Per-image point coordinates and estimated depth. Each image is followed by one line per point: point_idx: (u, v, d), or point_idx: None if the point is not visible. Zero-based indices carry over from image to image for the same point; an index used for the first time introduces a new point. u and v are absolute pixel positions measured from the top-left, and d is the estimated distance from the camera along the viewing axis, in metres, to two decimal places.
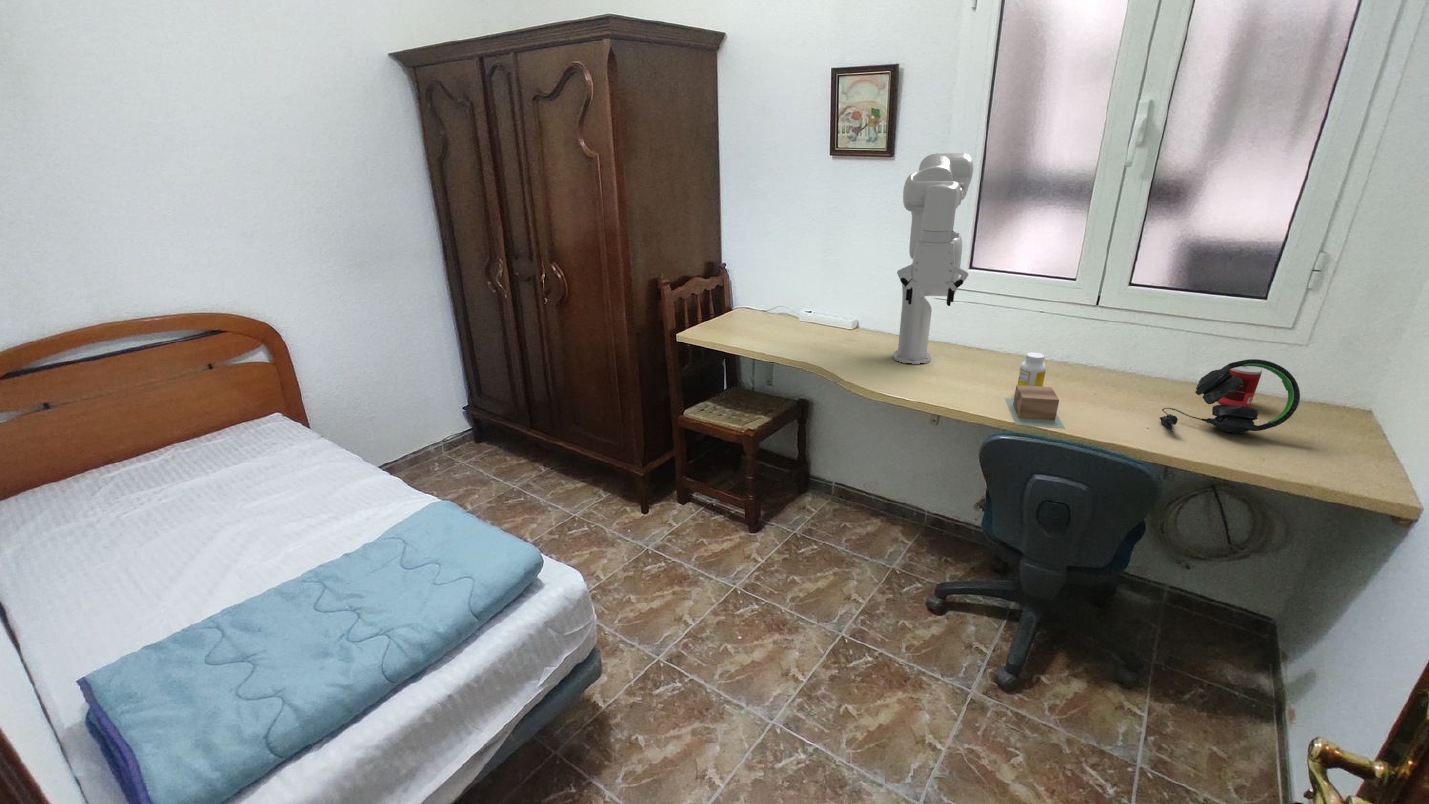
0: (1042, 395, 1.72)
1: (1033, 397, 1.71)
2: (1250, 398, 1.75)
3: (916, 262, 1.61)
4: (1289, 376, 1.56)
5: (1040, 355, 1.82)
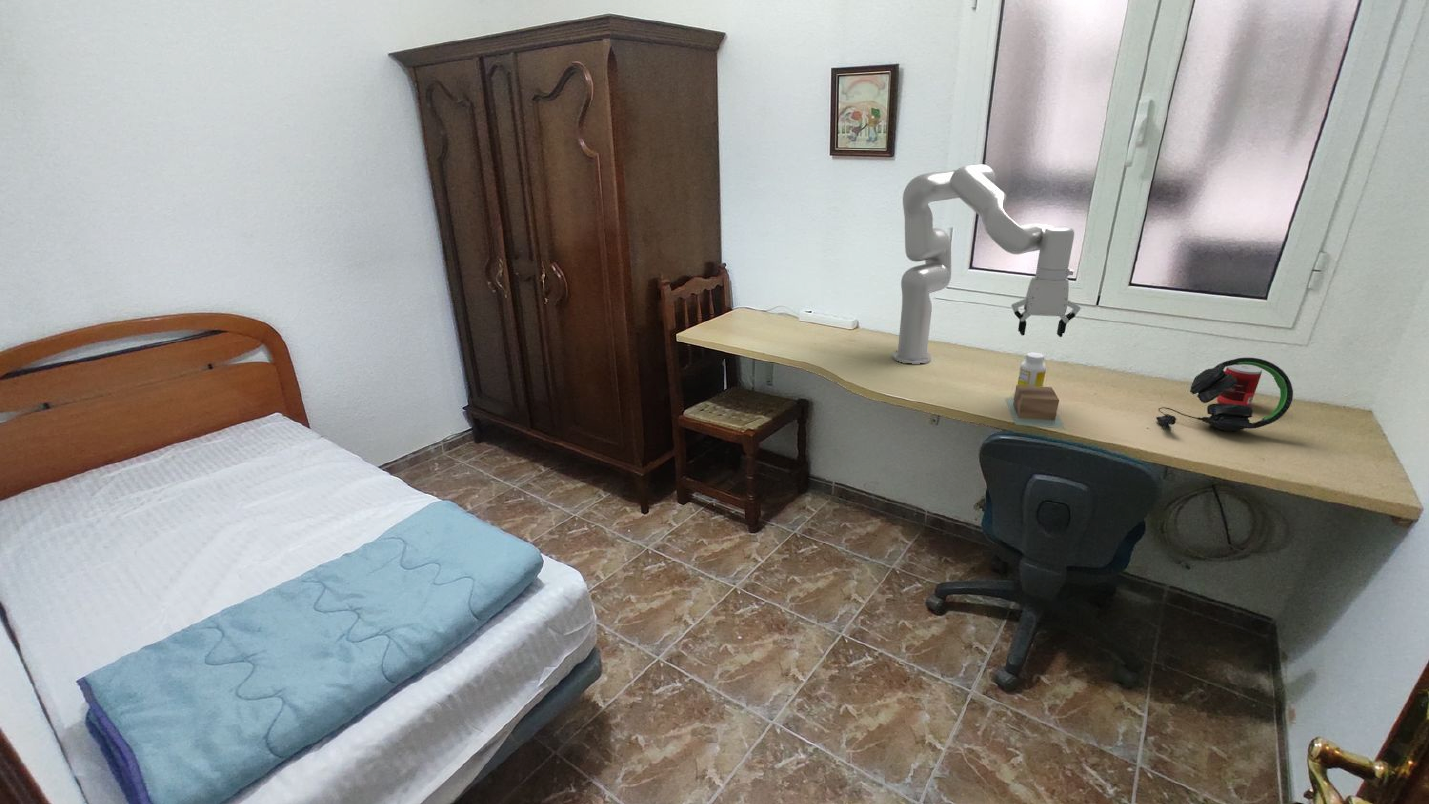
0: (1042, 395, 1.72)
1: (1033, 397, 1.71)
2: (1250, 398, 1.75)
3: (1031, 297, 1.75)
4: (1282, 373, 1.58)
5: (1040, 355, 1.82)
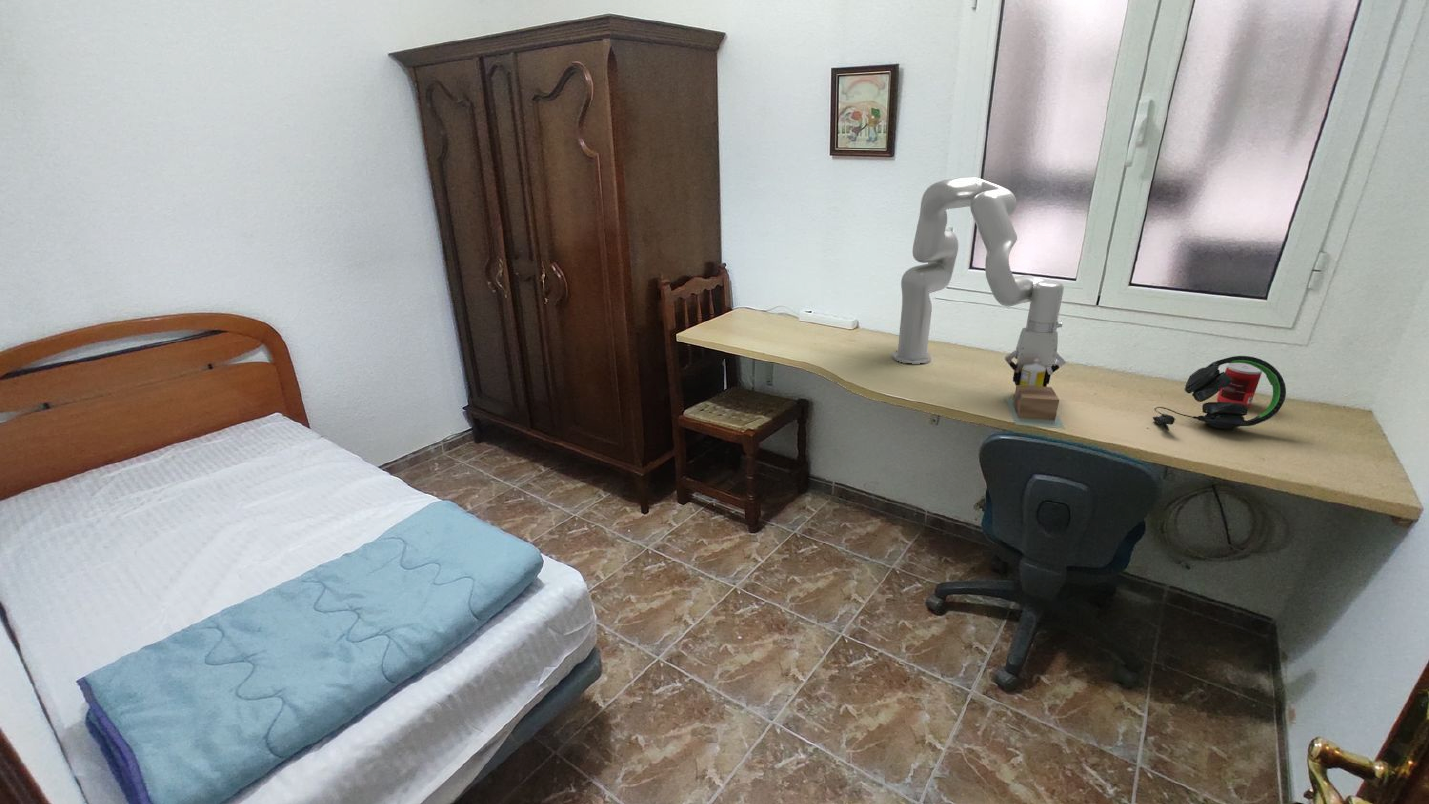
0: (1042, 395, 1.72)
1: (1033, 397, 1.71)
2: (1250, 398, 1.75)
3: (1022, 347, 1.81)
4: (1274, 371, 1.60)
5: None
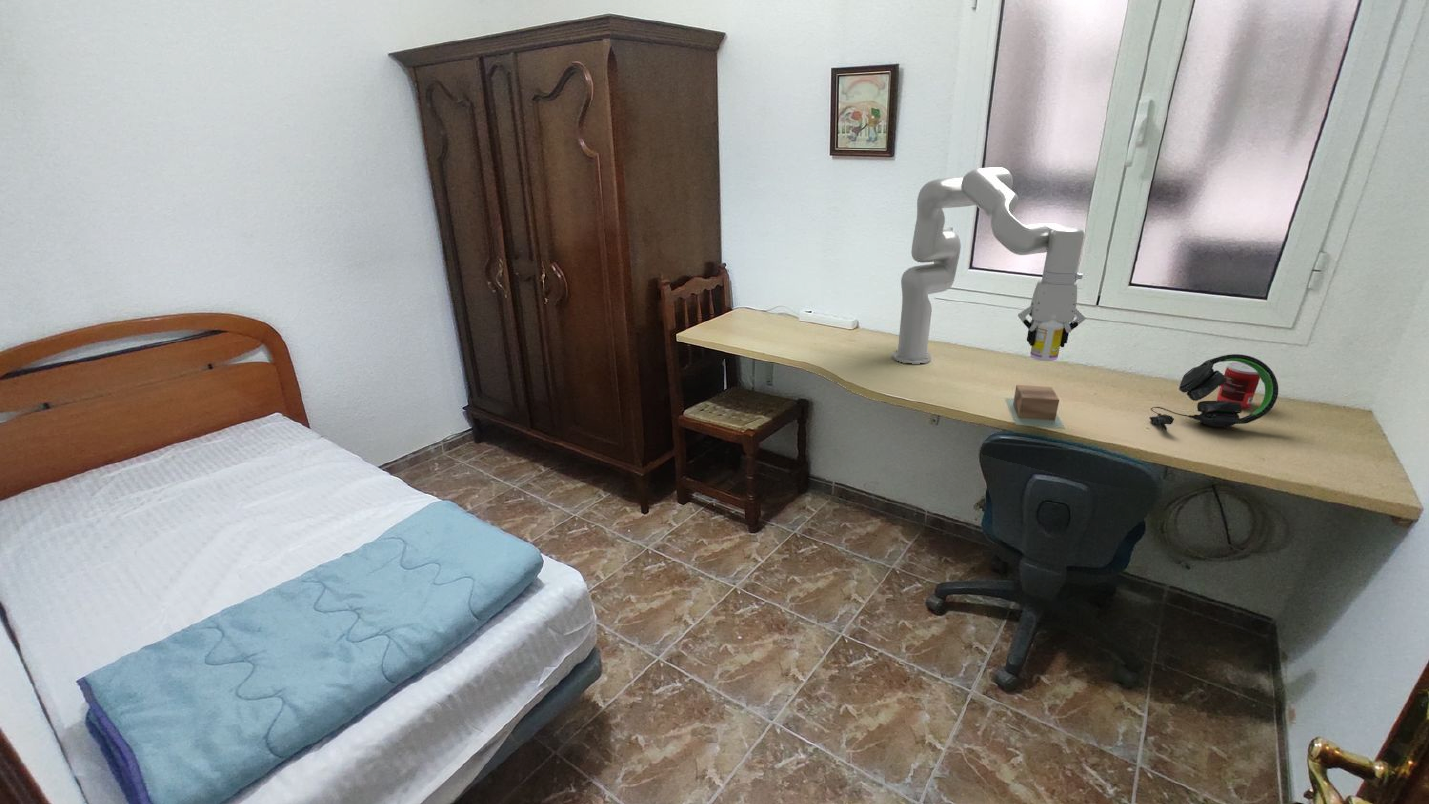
0: (1042, 395, 1.72)
1: (1033, 397, 1.71)
2: (1250, 398, 1.75)
3: (1037, 302, 1.64)
4: (1267, 369, 1.61)
5: None
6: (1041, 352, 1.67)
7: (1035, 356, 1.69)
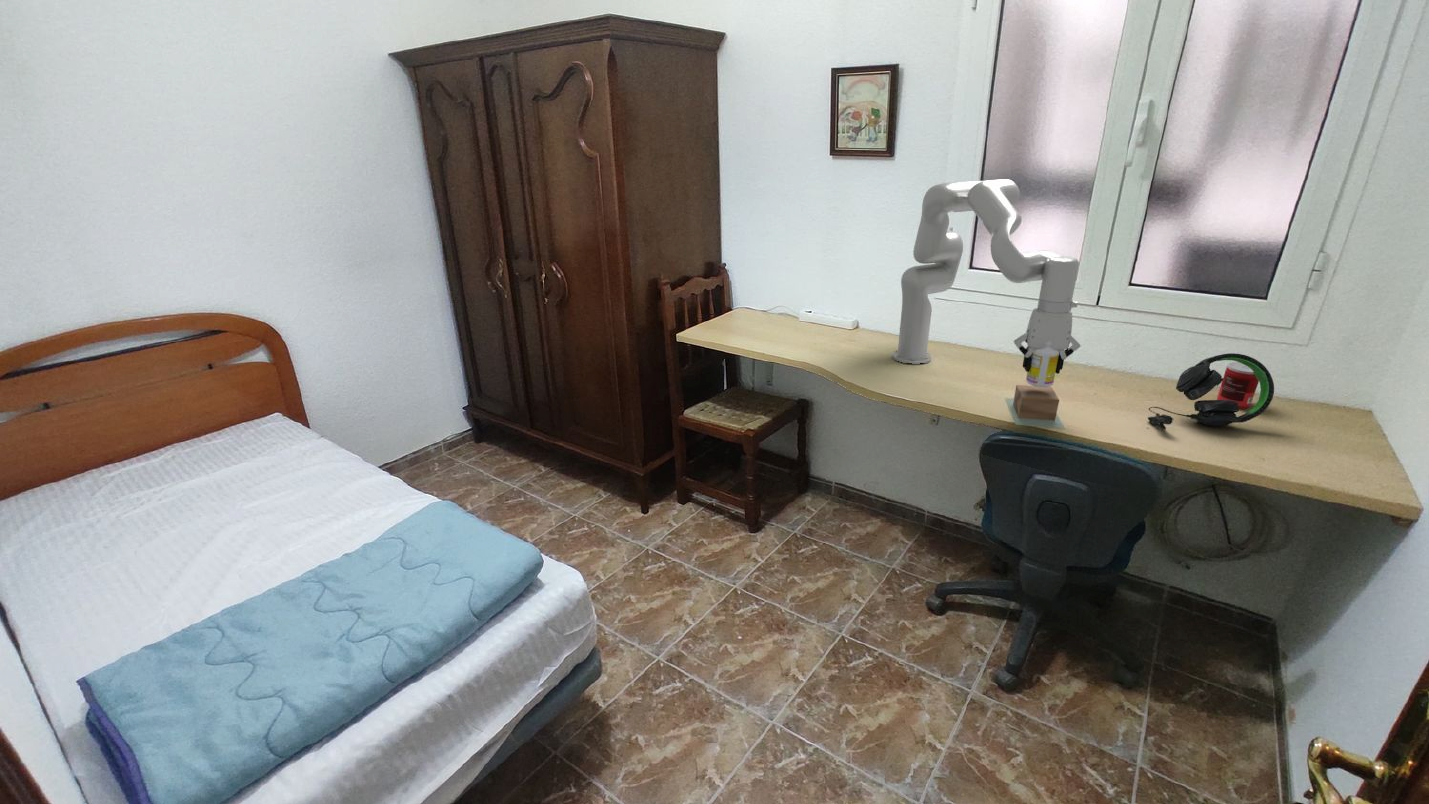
0: (1042, 395, 1.72)
1: (1033, 397, 1.71)
2: (1250, 398, 1.75)
3: (1033, 329, 1.66)
4: (1262, 367, 1.62)
5: None
6: (1037, 378, 1.69)
7: (1031, 382, 1.71)
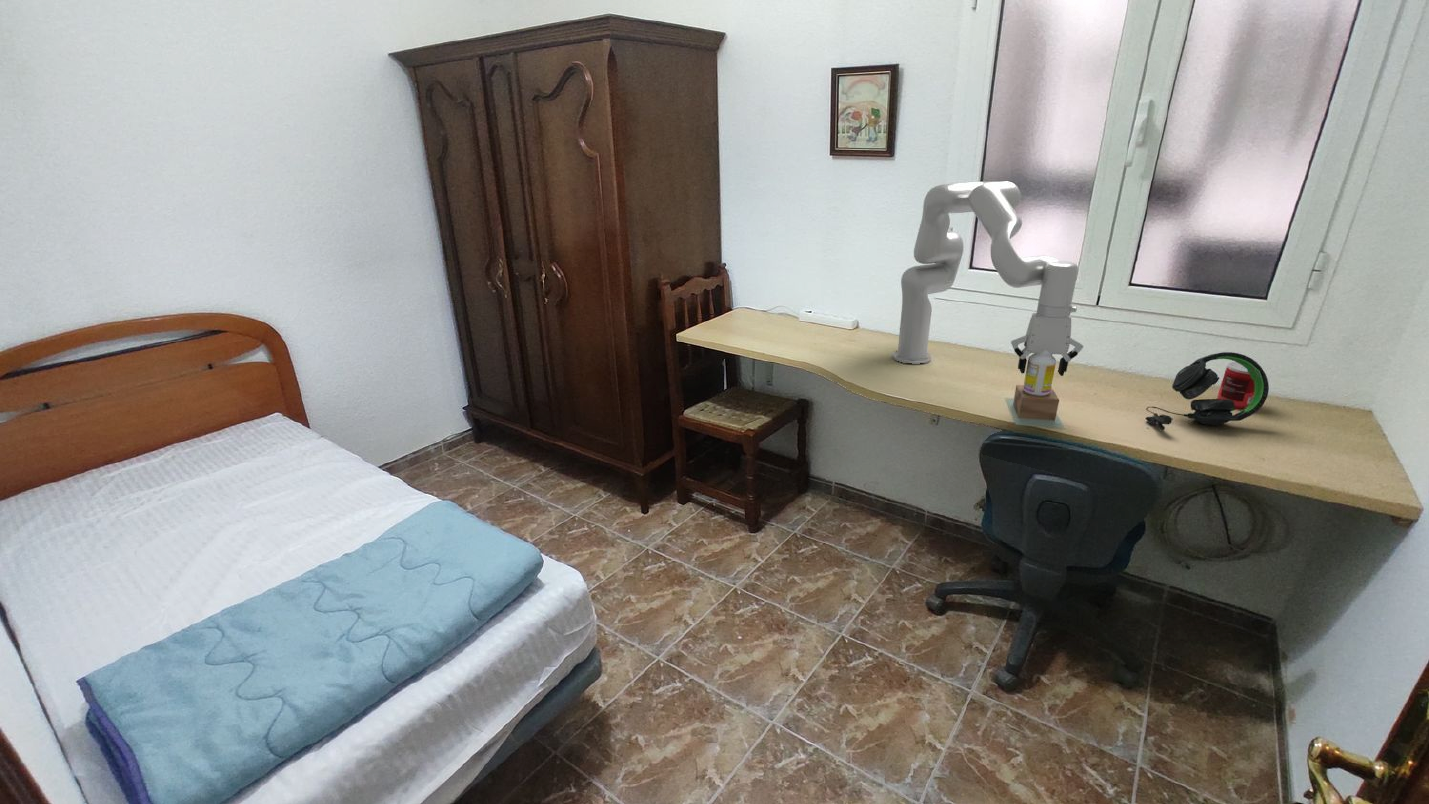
0: None
1: (1033, 397, 1.71)
2: (1250, 398, 1.75)
3: (1032, 334, 1.66)
4: (1257, 366, 1.63)
5: None
6: (1033, 387, 1.71)
7: (1028, 391, 1.72)
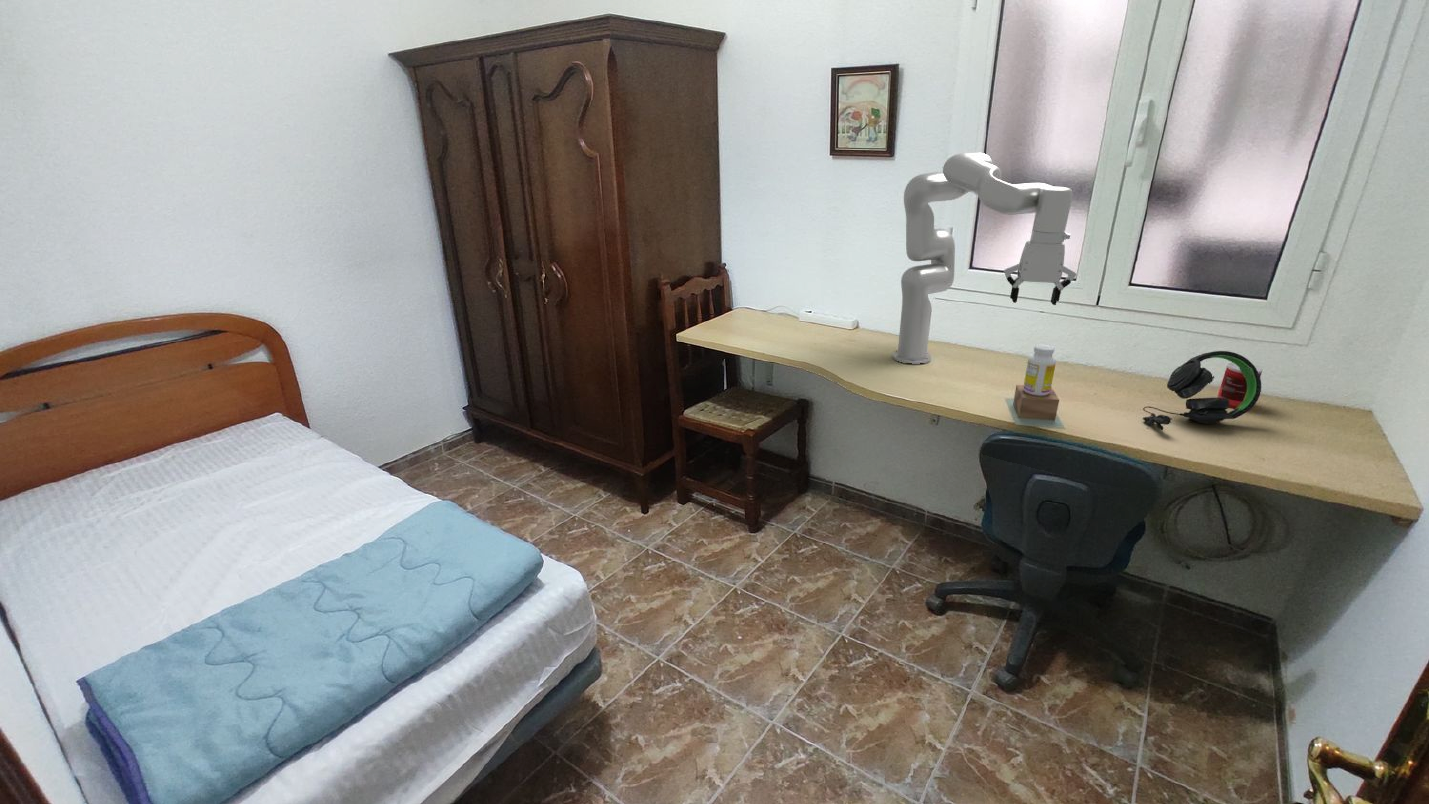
0: None
1: (1033, 397, 1.71)
2: None
3: (1025, 261, 1.66)
4: (1249, 364, 1.64)
5: (1049, 347, 1.68)
6: (1033, 387, 1.71)
7: (1028, 391, 1.72)
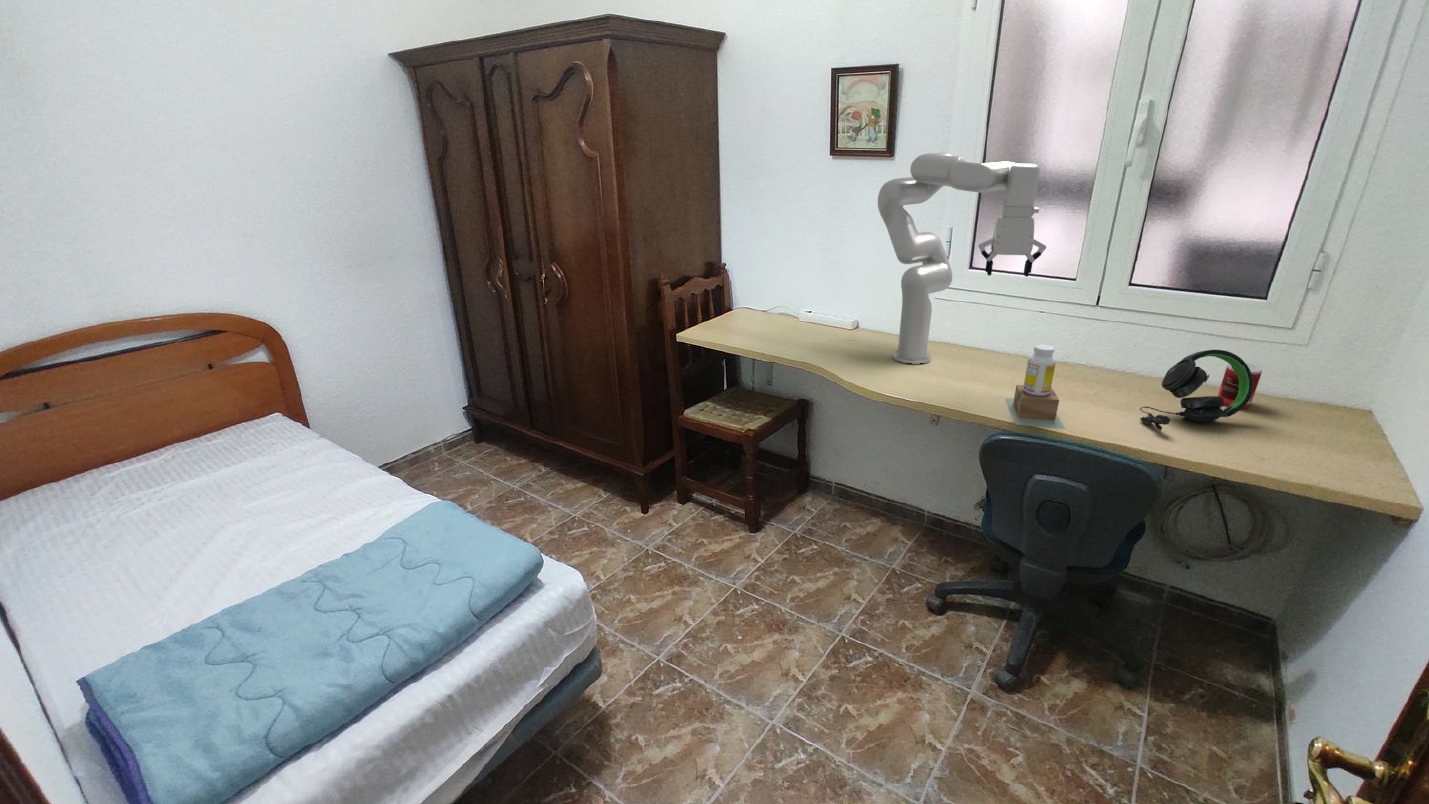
0: None
1: (1033, 397, 1.71)
2: (1250, 398, 1.75)
3: (997, 235, 1.75)
4: (1242, 362, 1.66)
5: (1049, 347, 1.68)
6: (1033, 387, 1.71)
7: (1028, 391, 1.72)
